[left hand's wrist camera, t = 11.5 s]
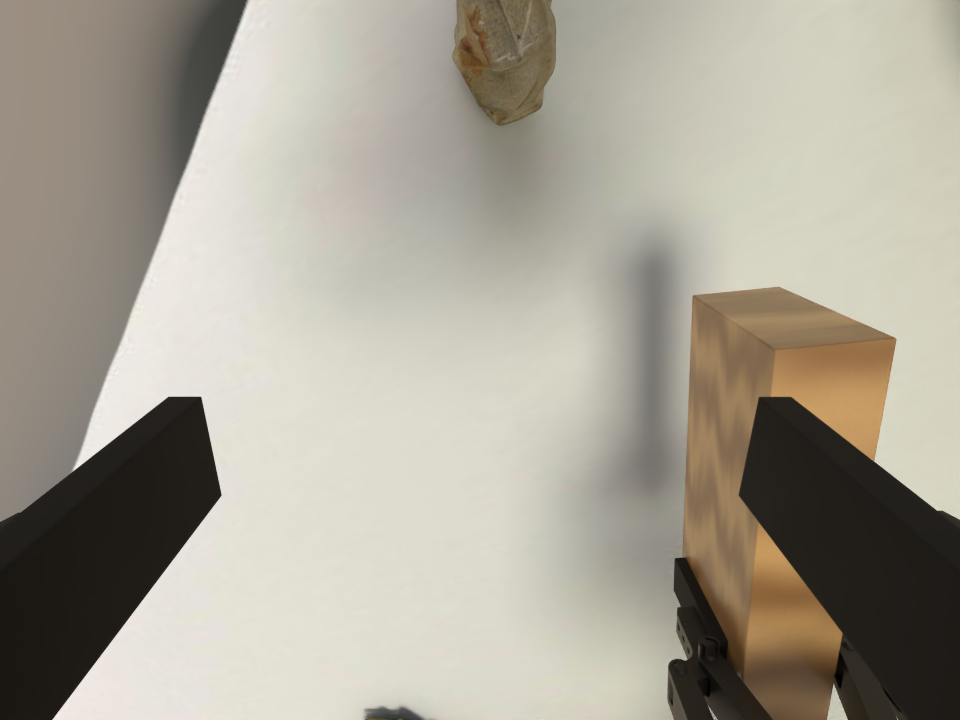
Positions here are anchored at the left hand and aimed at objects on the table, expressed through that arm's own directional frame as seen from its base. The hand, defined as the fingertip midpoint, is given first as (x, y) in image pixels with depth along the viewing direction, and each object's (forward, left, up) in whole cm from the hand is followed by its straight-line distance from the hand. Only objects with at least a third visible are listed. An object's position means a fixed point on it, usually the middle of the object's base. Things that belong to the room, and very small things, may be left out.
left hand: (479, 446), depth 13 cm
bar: (+3, +19, -18) cm, 26 cm away
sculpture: (-11, -5, -31) cm, 34 cm away
